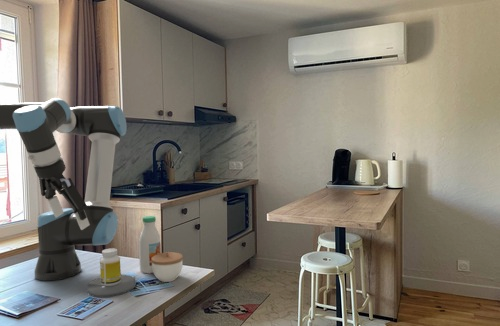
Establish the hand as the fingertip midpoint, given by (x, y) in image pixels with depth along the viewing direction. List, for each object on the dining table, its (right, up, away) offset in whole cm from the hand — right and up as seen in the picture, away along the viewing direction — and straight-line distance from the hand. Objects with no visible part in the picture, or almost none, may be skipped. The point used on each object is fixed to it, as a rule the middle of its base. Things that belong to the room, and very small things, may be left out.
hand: (72, 221), depth 115 cm
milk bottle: (+18, -22, +24) cm, 37 cm away
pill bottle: (+9, -22, +8) cm, 25 cm away
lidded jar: (+26, -23, +15) cm, 38 cm away
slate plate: (+9, -23, +8) cm, 26 cm away
